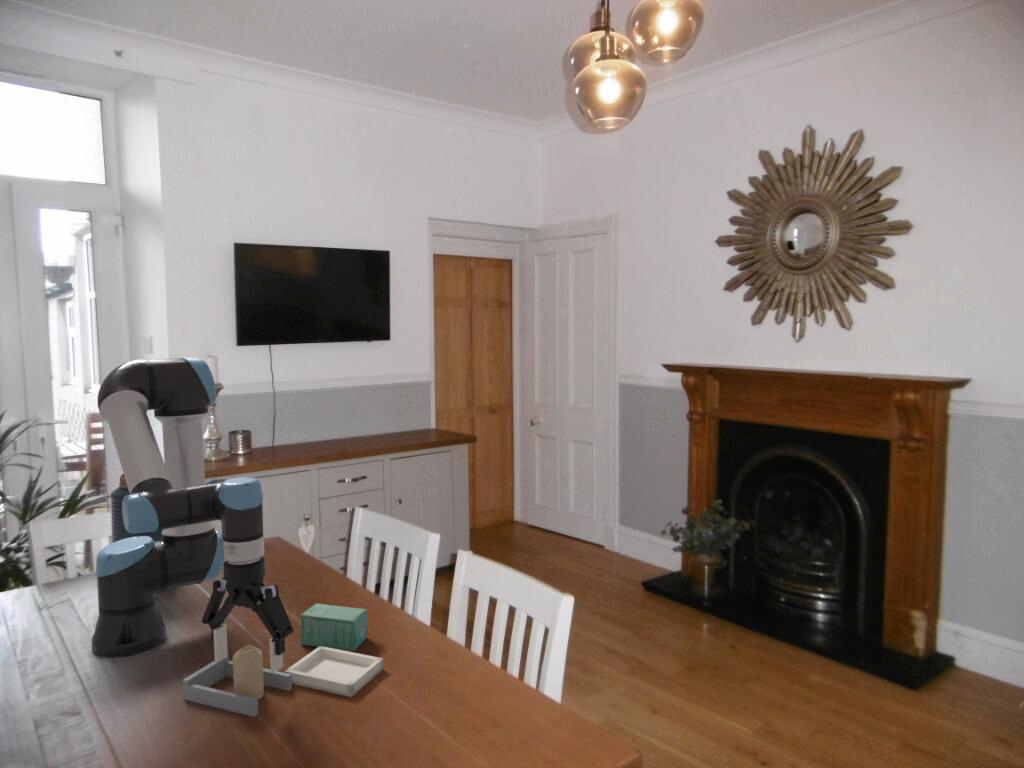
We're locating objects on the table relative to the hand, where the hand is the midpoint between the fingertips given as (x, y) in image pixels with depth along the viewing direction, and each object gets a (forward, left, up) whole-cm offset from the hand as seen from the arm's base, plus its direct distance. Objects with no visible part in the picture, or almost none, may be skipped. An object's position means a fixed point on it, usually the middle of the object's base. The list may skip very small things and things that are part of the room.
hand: (248, 664), depth 141 cm
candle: (0, 0, -7) cm, 7 cm away
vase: (-67, +36, -7) cm, 77 cm away
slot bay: (-2, 0, -7) cm, 7 cm away
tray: (+11, +13, -7) cm, 18 cm away
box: (+2, +26, -7) cm, 27 cm away
